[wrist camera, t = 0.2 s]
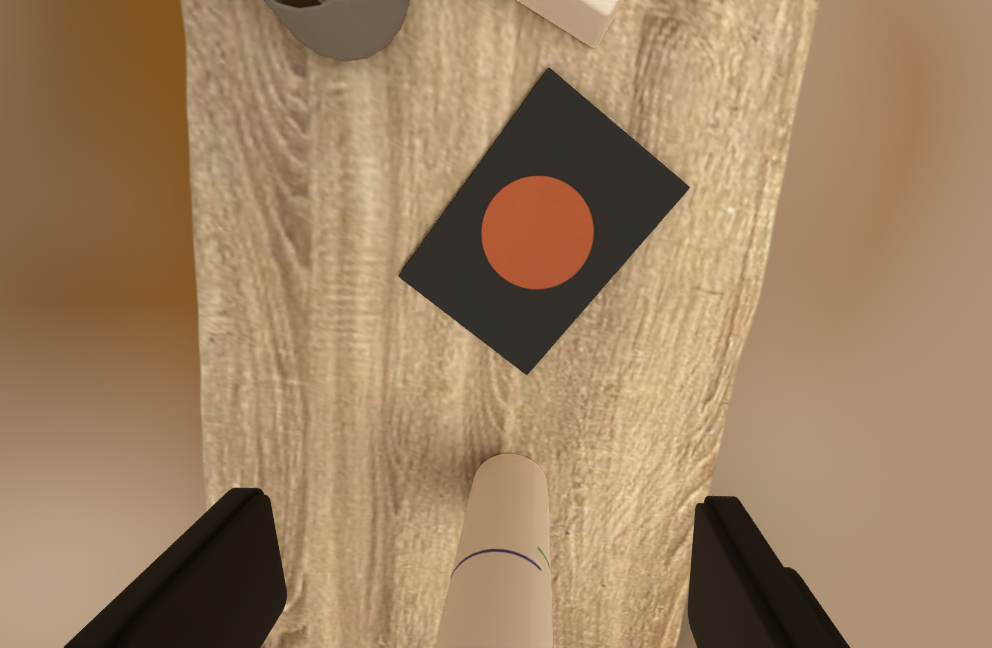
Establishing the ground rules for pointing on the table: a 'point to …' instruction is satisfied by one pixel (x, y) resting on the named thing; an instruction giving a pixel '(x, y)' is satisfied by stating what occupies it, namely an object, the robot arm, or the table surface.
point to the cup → (342, 24)
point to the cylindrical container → (502, 562)
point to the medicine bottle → (578, 16)
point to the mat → (542, 224)
